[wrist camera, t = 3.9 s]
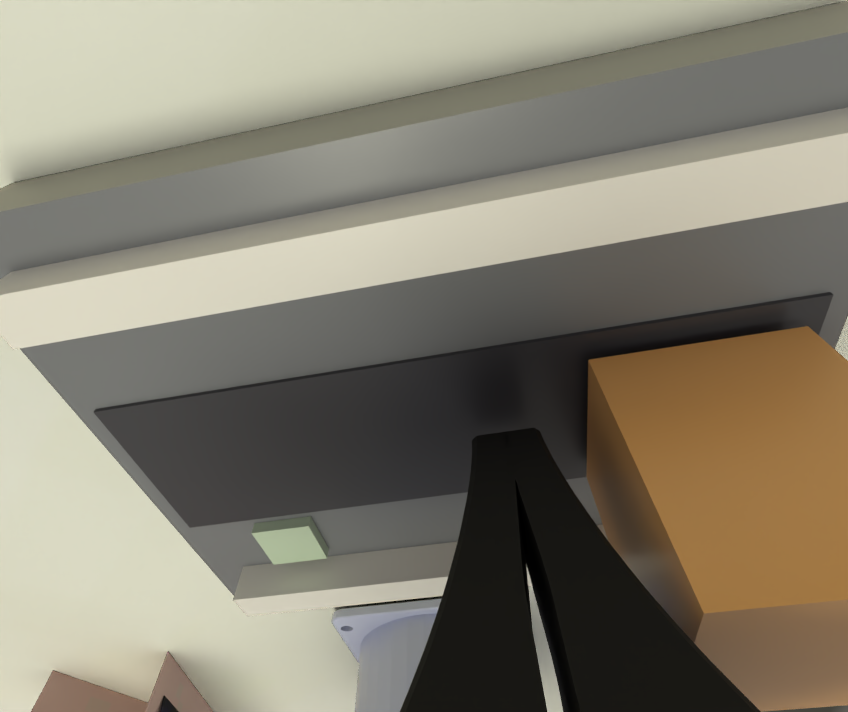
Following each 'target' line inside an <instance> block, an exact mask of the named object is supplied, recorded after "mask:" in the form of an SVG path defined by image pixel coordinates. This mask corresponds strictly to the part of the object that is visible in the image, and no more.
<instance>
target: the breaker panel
mask: <svg viewBox="0 0 848 712" xmlns="http://www.w3.org/2000/svg"><path fill="white" fill-rule="evenodd" d="M847 316H848V2H839V3H835V4H830V5H826V6H821V7H816V8H812V9H807V10H803V11H798V12H794V13H789V14H784V15H780V16H775V17H771V18H766V19H761V20H757V21H752V22H748V23H743V24H739V25H734V26H729V27H725V28H720V29H716V30H711V31H707V32H702V33H697V34H693V35H688V36H684V37H679V38H674V39H670V40H665V41H661V42H656V43H652V44H647V45H642V46H638V47H633V48H629V49H624V50H619V51H615V52H610V53H606V54H601V55H597V56H592V57H587V58H583V59H578V60H574V61H569V62H565V63H560V64H555V65H551V66H546V67H542V68H537V69H532V70H528V71H523V72H519V73H514V74H510V75H505V76H500V77H496V78H491V79H487V80H482V81H477V82H473V83H468V84H464V85H459V86H455V87H450V88H445V89H441V90H436V91H432V92H427V93H423V94H418V95H413V96H409V97H404V98H400V99H395V100H390V101H386V102H381V103H377V104H372V105H368V106H363V107H358V108H354V109H349V110H345V111H340V112H335V113H331V114H326V115H322V116H317V117H313V118H308V119H303V120H299V121H294V122H290V123H285V124H281V125H276V126H271V127H267V128H262V129H258V130H253V131H248V132H244V133H239V134H235V135H230V136H226V137H221V138H216V139H212V140H207V141H203V142H198V143H193V144H189V145H184V146H180V147H175V148H171V149H166V150H161V151H157V152H152V153H148V154H143V155H139V156H134V157H129V158H125V159H120V160H116V161H111V162H106V163H102V164H97V165H93V166H88V167H84V168H79V169H74V170H70V171H65V172H61V173H56V174H51V175H47V176H42V177H38V178H33V179H29V180H24V181H19V182H15V183H11V184H9V185H7V186H5V187H3V188H1V189H0V335H1V337H2V338H3V339H4V340H5V341H6V342H7V343H8V345H9V346H10V347H11V348H12V349H13V350H15V349H21V351H22V352H23V353H24V354H25V355H26V356H27V357H28V359H29V360H30V361H31V362H32V363H33V364H34V366H35V367H36V368H37V369H38V370H39V371H40V372H41V374H42V375H43V376H44V377H45V378H46V379H47V381H48V382H49V383H50V384H51V385H52V386H53V387H54V389H55V390H56V391H57V392H58V393H59V394H60V396H61V397H62V398H63V399H64V400H65V401H66V403H67V404H68V405H69V406H70V407H71V408H72V409H73V411H74V412H75V413H76V414H77V415H78V416H79V418H80V419H81V420H82V421H83V422H84V423H85V424H86V426H87V427H88V428H89V429H90V430H91V431H92V433H93V434H94V435H95V436H96V437H97V438H98V439H99V441H100V442H101V443H102V444H103V445H104V446H105V448H106V449H107V450H108V451H109V452H110V453H111V454H112V456H113V457H114V458H115V459H116V460H117V461H118V463H119V464H120V465H121V466H122V467H123V468H124V469H125V471H126V472H127V473H128V474H129V475H130V476H131V478H132V479H133V480H134V481H135V482H136V483H137V484H138V486H139V487H140V488H141V489H142V490H143V491H144V493H145V494H146V495H147V496H148V497H149V498H150V500H151V501H152V502H153V503H154V504H155V505H156V506H157V508H158V509H159V510H160V511H161V512H162V513H163V515H164V516H165V517H166V518H167V519H168V520H169V521H170V523H171V524H172V525H173V526H174V527H175V528H176V530H177V531H178V532H179V533H180V534H181V535H182V536H183V538H184V539H185V540H186V541H187V542H188V543H189V545H190V546H191V547H192V548H193V549H194V550H195V551H196V553H197V554H198V555H199V556H200V557H201V558H202V560H203V561H204V562H205V563H206V564H207V565H208V566H209V568H210V569H211V570H212V571H213V572H214V573H215V575H216V576H217V577H218V578H219V579H220V580H221V581H222V583H223V584H224V585H225V586H226V587H227V588H228V590H229V591H230V592H231V593H232V594H233V595H234V598H233V601H234V602H235V603H236V604H237V605H238V606H239V608H240V609H241V610H242V611H243V612H244V613H245V614H246V616H257V615H266V614H276V613H285V612H295V611H304V610H313V609H323V608H332V607H342V606H351V605H361V604H370V603H380V602H389V601H399V600H408V599H418V598H427V597H437V596H443V593H444V589H445V586H446V583H447V579H448V575H449V572H450V568H451V564H452V561H453V557H454V553H455V550H456V546H457V542H458V538H459V534H460V529H461V524H462V519H463V514H464V509H465V505H466V500H467V494H468V487H469V481H470V473H471V462H472V440H473V439H474V438H475V437H476V436H478V435H485V434H492V433H499V432H506V431H513V430H520V429H527V428H536V429H537V430H539V431H540V432H541V435H542V437H543V439H544V441H545V443H546V445H547V447H548V449H549V451H550V453H551V455H552V457H553V459H554V460H555V462H556V464H557V466H558V467H559V469H560V471H561V472H562V474H563V476H564V477H565V479H566V481H567V482H568V484H569V485H570V487H571V488H572V490H573V492H574V493H575V495H576V496H577V498H578V499H579V501H580V502H581V503H582V505H583V506H584V508H585V509H586V511H587V512H588V513H589V515H590V516H591V518H592V519H593V521H594V522H595V524H596V525H597V526H598V528H599V529H600V530H601V532H602V533H603V535H604V536H605V537H606V539H607V540H608V538H607V535H606V532H605V529H604V527H603V524H602V521H601V518H600V515H599V512H598V509H597V506H596V503H595V500H594V497H593V495H592V492H591V489H590V486H589V483H588V480H587V410H588V360H590V359H596V358H603V357H609V356H616V355H622V354H629V353H635V352H642V351H649V350H655V349H662V348H668V347H675V346H681V345H688V344H694V343H701V342H707V341H714V340H720V339H727V338H733V337H740V336H746V335H753V334H760V333H766V332H773V331H779V330H786V329H792V328H799V327H805V326H808V327H810V328H811V329H812V330H813V331H814V332H815V333H816V334H818V335H819V336H820V337H821V338H822V339H823V340H824V341H826V342H827V343H828V344H829V345H830V346H831V347H832V348H834V349H835V346H836V344H837V341H838V339H839V336H840V334H841V331H842V329H843V326H844V324H845V321H846V319H847ZM526 569H527V579H528V587H531V586H532V583H531V579H530V575H529V572H528V568H527V564H526Z"/></svg>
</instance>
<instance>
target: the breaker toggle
mask: <svg viewBox="0 0 848 712" xmlns="http://www.w3.org/2000/svg"><path fill="white" fill-rule="evenodd" d="M587 480H588V483H589V486H590V489H591V492H592V495H593V497H594V500H595V503H596V506H597V509H598V512H599V515H600V518H601V521H602V524H603V527H604V529H605V532H606V535H607V538H608V541H609V543H610V544H611V545H612V547H613V548H614V549H615V550H616V552H617V553H618V554H619V555H620V557H621V558H622V559H623V561H624V562H625V563H626V564H627V566H628V567H629V568H630V570H631V571H632V572H633V573H634V574H635V576H636V577H637V578H638V579H639V581H640V582H641V583H642V584H643V585H644V587H645V588H646V589H647V590H648V591H649V593H650V594H651V595H652V596H653V597H654V599H655V600H656V601H657V602H658V603H659V604H660V605H661V607H662V608H663V609H664V610H665V611H666V612H667V613H668V615H669V616H670V617H671V618H672V619H673V620H674V621H675V623H676V624H677V625H678V626H679V627H680V628H681V629H682V630H683V631H684V632H685V634H686V635H687V636H688V637H689V638H690V639H691V640H692V641H693V642H694V643H695V644H696V646H697V647H698V648H699V649H700V650H701V651H702V652H703V653H704V654H705V655H706V656H707V657H708V659H709V660H710V661H711V662H712V663H713V664H714V665H715V666H716V667H717V668H718V669H719V670H720V671H721V672H722V673H723V674H724V675H725V676H726V677H727V678H728V679H729V680H730V681H731V682H732V683H733V684H734V685H735V686H736V687H737V688H738V689H739V690H740V691H741V692H742V693H743V694H744V695H745V696H746V697H747V698H748V699H749V700H750V701H751V702H752V703H753V704H754V705H755V706H756V707H757V708H758V709H759V710H760V711H775V710H788V709H801V708H815V707H828V706H841V705H848V361H847V360H846V359H845V358H844V357H843V356H842V355H840V354H839V353H838V352H837V351H836V350H835V349H834V348H832V347H831V346H830V345H829V344H828V343H827V342H826V341H824V340H823V339H822V338H821V337H820V336H819V335H818V334H816V333H815V332H814V331H813V330H812V329H811V328H810V327H808V326H805V327H799V328H792V329H786V330H779V331H773V332H766V333H760V334H753V335H746V336H740V337H733V338H727V339H720V340H714V341H707V342H701V343H694V344H688V345H681V346H675V347H668V348H662V349H655V350H649V351H642V352H635V353H629V354H622V355H616V356H609V357H603V358H596V359H590V360H588V410H587Z"/></svg>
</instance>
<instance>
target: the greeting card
mask: <svg viewBox="0 0 848 712" xmlns="http://www.w3.org/2000/svg"><path fill="white" fill-rule="evenodd" d="M31 712H213V711H212V709H211V708H210V707H209V705H208V704H207V703H206V701H205V700H204V699H203V697H202V696H201V695H200V693H199V692H198V691H197V689H196V688H195V687H194V685H193V684H192V683H191V681H190V680H189V679H188V677H187V676H186V675H185V673H184V672H183V671H182V669H181V668H180V667H179V665H178V664H177V663H176V661H175V660H174V659H173V657H172V656H171V655H170V653H169V652H167V655H166V657H165V660H164V663H163V665H162V668H161V671H160V673H159V676H158V679H157V681H156V684H155V687H154V689H153V692H152V695H151V697H150V700H149V703H147V702H144V701H141V700H138V699H135V698H132V697H129V696H126V695H123V694H120V693H117V692H114V691H111V690H109V689H106V688H103V687H100V686H97V685H94V684H91V683H88V682H85V681H82V680H79V679H76V678H73V677H70V676H67V675H65V674H62V673H59V672H56V671H52V673H51V675H50V677H49V679H48V681H47V683H46V685H45V686H44V688H43V690H42V692H41V694H40V696H39V698H38V700H37V701H36V703H35V705H34V707H33V709H32V711H31Z"/></svg>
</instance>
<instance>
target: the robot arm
mask: <svg viewBox="0 0 848 712" xmlns="http://www.w3.org/2000/svg"><path fill="white" fill-rule="evenodd" d="M526 564H527V568H528V572H529V575H530V579H531V583H532V586H533V590H534V594H535V597H536V601H537V605H538V608H539V612H540V616H541V619H542V623H543V627H544V630H545V634H546V638H547V641H548V645H549V649H550V652H551V656H552V660H553V664H554V668H555V673H556V677H557V681H558V686H559V691H560V696H561V701H562V706H563V712H761V711H760V710H759V709H758V708H757V707H756V706H755V705H754V704H753V703H752V702H751V701H750V700H749V699H748V698H747V697H746V696H745V695H744V694H743V693H742V692H741V691H740V690H739V689H738V688H737V687H736V686H735V685H734V684H733V683H732V682H731V681H730V680H729V679H728V678H727V677H726V676H725V675H724V674H723V673H722V672H721V671H720V670H719V669H718V668H717V667H716V666H715V665H714V664H713V663H712V662H711V661H710V660H709V659H708V657H707V656H706V655H705V654H704V653H703V652H702V651H701V650H700V649H699V648H698V647H697V646H696V644H695V643H694V642H693V641H692V640H691V639H690V638H689V637H688V636H687V635H686V634H685V632H684V631H683V630H682V629H681V628H680V627H679V626H678V625H677V624H676V623H675V621H674V620H673V619H672V618H671V617H670V616H669V615H668V613H667V612H666V611H665V610H664V609H663V608H662V607H661V605H660V604H659V603H658V602H657V601H656V600H655V599H654V597H653V596H652V595H651V594H650V593H649V591H648V590H647V589H646V588H645V587H644V585H643V584H642V583H641V582H640V581H639V579H638V578H637V577H636V576H635V574H634V573H633V572H632V571H631V570H630V568H629V567H628V566H627V564H626V563H625V562H624V561H623V559H622V558H621V557H620V555H619V554H618V553H617V552H616V550H615V549H614V548H613V547H612V545H611V544H610V543H609V541H608V540H607V539H606V537H605V536H604V535H603V533H602V532H601V530H600V529H599V528H598V526H597V525H596V524H595V522H594V521H593V519H592V518H591V516H590V515H589V513H588V512H587V511H586V509H585V508H584V506H583V505H582V503H581V502H580V501H579V499H578V498H577V496H576V495H575V493H574V492H573V490H572V488H571V487H570V485H569V484H568V482H567V481H566V479H565V477H564V476H563V474H562V472H561V471H560V469H559V467H558V466H557V464H556V462H555V460H554V459H553V457H552V455H551V453H550V451H549V449H548V447H547V445H546V443H545V441H544V439H543V437H542V435H541V432H540V431H539V430H537V429H536V428H527V429H520V430H513V431H506V432H499V433H492V434H485V435H478V436H476V437H475V438H474V439H473V440H472V462H471V473H470V481H469V487H468V494H467V500H466V505H465V509H464V514H463V519H462V524H461V529H460V534H459V538H458V542H457V546H456V550H455V553H454V557H453V561H452V564H451V568H450V572H449V575H448V579H447V583H446V586H445V589H444V593H443V596H442V598H441V599H431V600H422V601H412V602H403V603H393V604H384V605H374V606H364V607H355V608H345V609H339V610H336V611H335V612H334V613H333V616H332V624H333V625H334V627H335V628H336V630H337V631H338V633H339V634H340V636H341V637H342V639H343V640H344V642H345V643H346V645H347V646H348V648H349V649H350V651H351V652H352V654H353V655H354V657H355V658H356V660H357V661H358V663H359V669H358V680H357V692H356V703H355V712H547V708H546V703H545V697H544V692H543V686H542V681H541V675H540V670H539V664H538V659H537V654H536V648H535V643H534V637H533V632H532V622H531V611H530V601H529V590H528V579H527V569H526Z"/></svg>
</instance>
